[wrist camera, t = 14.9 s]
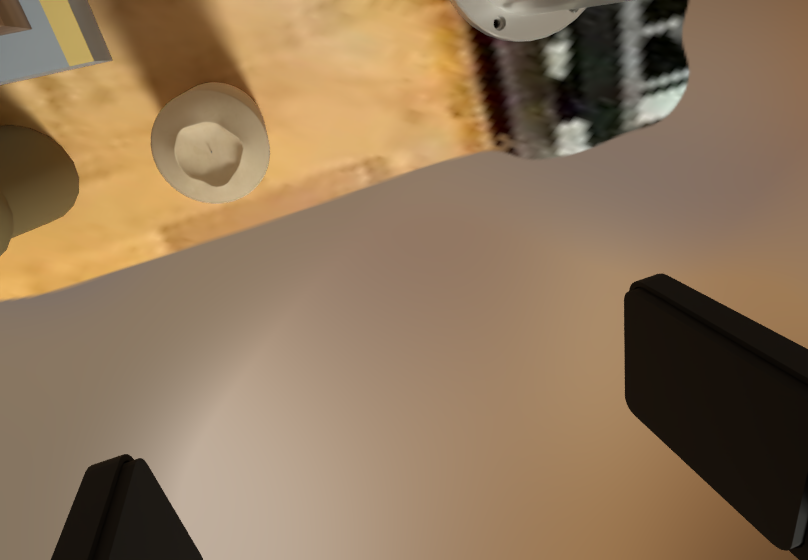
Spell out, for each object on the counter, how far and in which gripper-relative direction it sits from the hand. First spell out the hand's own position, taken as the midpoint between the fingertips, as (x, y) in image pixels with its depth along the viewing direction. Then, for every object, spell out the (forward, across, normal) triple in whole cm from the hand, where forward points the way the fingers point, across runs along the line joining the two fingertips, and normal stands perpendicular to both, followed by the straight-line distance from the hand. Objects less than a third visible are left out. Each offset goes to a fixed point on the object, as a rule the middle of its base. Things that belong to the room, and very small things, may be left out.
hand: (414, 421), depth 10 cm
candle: (+28, +4, -3) cm, 29 cm away
